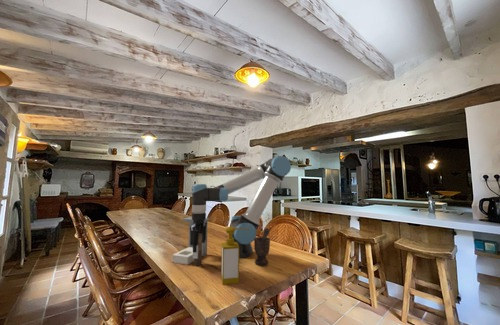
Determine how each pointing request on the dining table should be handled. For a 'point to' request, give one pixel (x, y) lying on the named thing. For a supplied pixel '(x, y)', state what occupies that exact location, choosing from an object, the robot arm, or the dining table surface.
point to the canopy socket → (187, 254)
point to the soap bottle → (230, 259)
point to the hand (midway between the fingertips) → (197, 256)
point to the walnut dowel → (199, 251)
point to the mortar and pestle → (262, 248)
